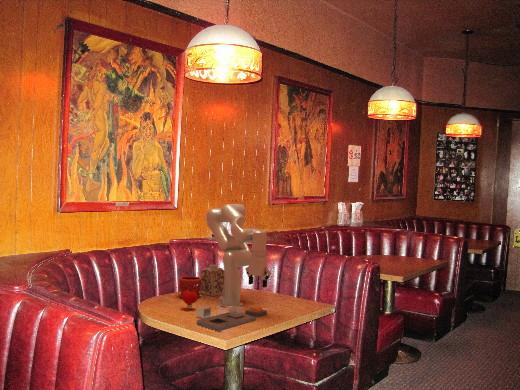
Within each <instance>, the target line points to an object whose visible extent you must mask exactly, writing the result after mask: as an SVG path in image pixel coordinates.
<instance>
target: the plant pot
mask: <svg viewBox="0 0 520 390" xmlns="http://www.w3.org/2000/svg"><path fill="white" fill-rule="evenodd" d="M200 277H201V276H200ZM200 277H199V276H193V275H192V276H191V275H190V276H189V275H188V276H181V277H179V290H180V295H179V296H180V297H181V298H182V294H183V292H184V291H190V292H193V291H194V292H196V293H197V296H198V298H199V297H200V295H201V293H200V288H201V278H200Z"/></svg>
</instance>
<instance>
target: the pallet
mask: <svg viewBox="0 0 520 390" xmlns="http://www.w3.org/2000/svg"><path fill="white" fill-rule="evenodd" d="M256 320H257V317H254V316H250V315H247V314H246V313H243V317H242V318H238V319H234V318H231V317H229V311H228V312H227V311H226V312H224V313H221V314H217V315H211V317H208V318H204V319H202V318H199V319H197V320H196V326H197V325H198V327H200V326H202V327H201V328H203V327H205V328H204V329H207V328H208V329H207V330H210V329H211V330H210V331H213V330H215V331H214V332H216V331H218V332H217V333H219V332H221V333H222V331H223V330H227V329H230V328H233V327H238V326H241V325H245V324H248V323H252V322H255V321H256Z"/></svg>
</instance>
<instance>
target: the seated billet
mask: <svg viewBox="0 0 520 390" xmlns="http://www.w3.org/2000/svg"><path fill="white" fill-rule="evenodd" d="M228 312H229V317H231V318H234V319H238V318H242V317H243V314H244V307H243V306H242V307H240V306H234V307H229V310H228Z"/></svg>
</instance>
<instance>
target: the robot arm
mask: <svg viewBox="0 0 520 390" xmlns="http://www.w3.org/2000/svg"><path fill="white" fill-rule="evenodd" d="M246 210H247V209H246V208H245V206H244V205H243V204H241V203H227V204H224V205H223V206H222V207H220V208H218V207H217V208H216V207H215V208H212V209H209V210H208V211H207V213H206V215H205V216H206V224H207V227H208V229H209V230H210V231H211V233H212V235H214V239H215V241H216V243H217V245H218V247H219V249H220V250H221V252H224V254H223V256H222V263H223V270H224V294H223V295H220V297H219V300H221V302H220V306H221V307H223V308H228V307H229V308H230V307H234V306H239V307H242V308H243V303H242V302H241V280H242V278H241V277H242V276H241V271H240V270H239V269H238V268H239V267H240V268H241V267H245V268H244V269H245V272H246V275H247V277H248V285H253V284H254V276H258V277H262V283H261V284H262V285H261V287H262V288H263V289H264V288H265V289H266V288H267V287H268V280H269V279H270V278H271V275H272V271H271V270H270V269H268V259H267V254H266V253H267V231H265V230H261V229H259V228H241V227H243V226H244V224H245V222H246V219H245V218H246V217H245V216H246V213H247V211H246ZM223 223H229V225H230V233H231V234H230V233H229V230H228V228H227V227H226V226H225V225H224V224H223ZM248 243H249V244H250V243H251V249H250V248H249V246H248Z"/></svg>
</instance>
